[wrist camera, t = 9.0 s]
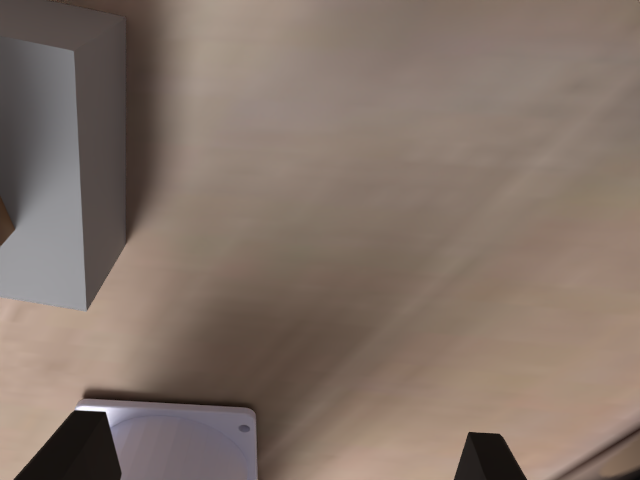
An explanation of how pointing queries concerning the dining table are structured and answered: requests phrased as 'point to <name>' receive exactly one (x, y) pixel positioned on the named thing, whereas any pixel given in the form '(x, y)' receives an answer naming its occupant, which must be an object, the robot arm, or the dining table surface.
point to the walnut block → (5, 223)
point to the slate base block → (61, 150)
